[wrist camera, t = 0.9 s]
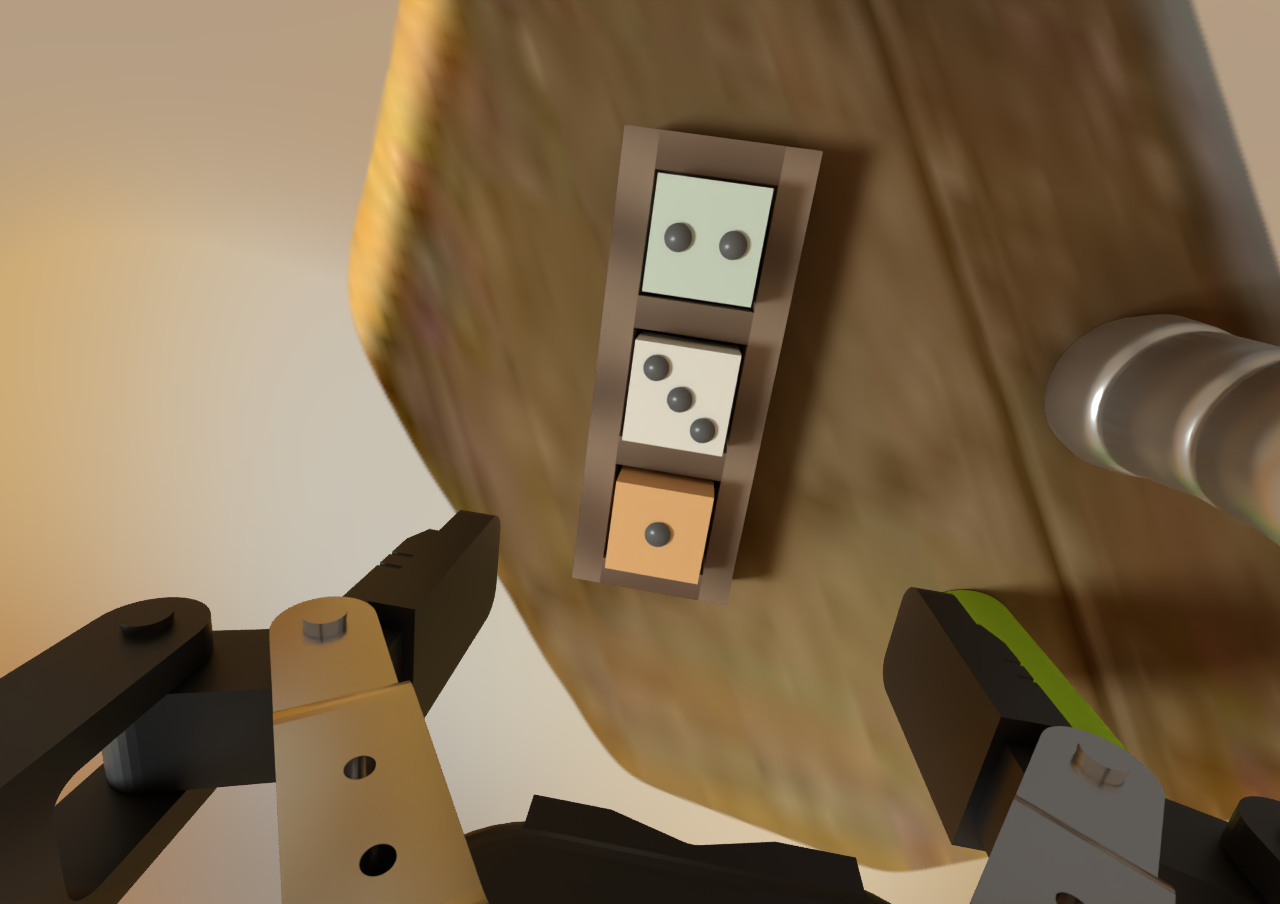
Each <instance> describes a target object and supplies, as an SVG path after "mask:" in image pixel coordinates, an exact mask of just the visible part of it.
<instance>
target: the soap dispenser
mask: <svg viewBox="0 0 1280 904" xmlns="http://www.w3.org/2000/svg"><path fill="white" fill-rule="evenodd" d="M944 593H949V594H953V595H954V596H955V597H956V598H957V599H958V600H959V602H960V603H961V604H962V606H963V607H964V608H965V609H966V611H967V612H968V613H969V615H970V616H971V617H972V619H973V620H974V621H975V623H976V624H979V625H982V626H983V627H984V628H986V629H987V630H988V631H990V632H991V633H992V634H994V635H995V636H996V637H998V638H999V639H1000V640H1002V641H1003V642H1004V643H1005V644H1006V645H1007V646H1008V647H1009V649H1010V650H1011V651H1012V652H1013V654H1014V655H1015V656H1016V657H1017V659H1018V660H1019V661H1020V662H1021V663H1020V665H1021V666H1024V667H1025V669H1026V670H1027V671H1028V672H1029V674H1030V675H1031V676H1032V677H1033V678H1034V679H1033V682H1035V683H1038V685H1039V686H1040V687H1041V688H1042V690H1043V691H1044V692H1045V693H1046V695H1047V696H1048V697H1049V698H1050V700H1051V701H1052V702H1053V703H1054V705H1055V706H1056V707H1057V708H1058V710H1059V711H1060V712H1061V713H1062V715H1063V716H1064V717H1065V718H1066V720H1067V721H1068V722H1069V723H1070V725H1071V726H1072V727H1073V728H1076V729H1080V730H1083V731H1087V732H1089V733H1092V734H1094V735H1097V736H1099V737H1101V738H1103V739H1106V740H1108V741H1109V742H1111V743H1113V744H1115V745H1117V746H1118V747H1120V748H1122V749H1123V750H1125V751H1127V749H1126V748H1125V747H1124V746H1123V745H1122V744H1121V742H1120V741H1119V740H1118V739H1117V738H1116V736H1115V735H1114V734H1113V733H1112V732H1111V731H1110V729H1109V728H1108V727H1107V726H1106V725H1105V724H1104V722H1103V721H1102V720H1101V719H1100V718H1099V716H1098V715H1097V714H1096V713H1095V712H1094V711H1093V709H1092V708H1091V707H1090V706H1089V705H1088V703H1087V702H1086V701H1085V700H1084V699H1083V698H1082V696H1081V695H1080V694H1079V693H1078V692H1077V691H1076V689H1075V688H1074V687H1073V686H1072V685H1071V683H1070V682H1069V681H1068V680H1067V679H1066V678H1065V676H1064V675H1063V674H1062V673H1061V672H1060V671H1059V669H1058V668H1057V667H1056V666H1055V665H1054V663H1053V662H1052V661H1051V660H1050V659H1049V658H1048V656H1047V655H1046V654H1045V653H1044V652H1043V650H1042V649H1041V648H1040V647H1039V646H1038V645H1037V643H1036V642H1035V641H1034V640H1033V639H1032V638H1031V636H1030V635H1029V634H1028V633H1027V632H1026V630H1025V629H1024V628H1023V627H1022V626H1021V625H1020V623H1019V622H1018V621H1017V620H1016V619H1015V617H1014V616H1013V615H1012V614H1011V613H1010V612H1009V610H1008V609H1007V608H1006V607H1005V606H1004V605H1003V604H1002V603H1001V602H999V601H998V600H996V599H995V598H993V597H991V596H989V595H987V594H984V593H981V592H977V591H971V590H954V591H948V592H944ZM1127 752H1128V751H1127ZM1128 753H1129V752H1128ZM1129 754H1130V753H1129ZM1165 798H1166V799H1168V798H1167V797H1166V795H1165Z"/></svg>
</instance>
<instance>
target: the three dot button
mask: <svg viewBox="0 0 1280 904" xmlns="http://www.w3.org/2000/svg"><path fill="white" fill-rule="evenodd" d="M740 361H741V353H740V350H739V347H738V346H735V345H728V344H722V343H716V342H709V341H703V340H696V339H690V338H683V337H677V336H670V335H664V334H657V333H651V332H644V331H643V332H642V333H641V334H640V335H639V336H638V337H637V338H636V340H635V347H634V354H633V362H632V369H631V377H630V384H629V392H628V399H627V406H626V414H625V421H624V429H623V436H622V440H624V441H630V442H637V443H643V444H649V445H655V446H661V447H667V448H673V449H679V450H685V451H691V452H697V453H703V454H709V455H715V456H721V457H722V454H723V449H724V444H725V439H726V434H727V428H728V423H729V418H730V413H731V408H732V402H733V397H734V392H735V387H736V382H737V376H738V371H739V366H740Z"/></svg>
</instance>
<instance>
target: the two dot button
mask: <svg viewBox="0 0 1280 904" xmlns="http://www.w3.org/2000/svg"><path fill="white" fill-rule="evenodd" d="M772 195H773V188H766V187H759V186H751V185H744V184H737V183H730V182H723V181H715V180H708V179H701V178H694V177H686V176H679V175H672V174H665V173H658V177H657V184H656V191H655V199H654V206H653V214H652V221H651V228H650V236H649V243H648V251H647V258H646V266H645V273H644V280H643V288H642V291H645V292H651V293H658V294H665V295H671V296H678V297H685V298H691V299H698V300H705V301H711V302H718V303H725V304H731V305H738V306H745V307H751V304H752V298H753V293H754V288H755V283H756V278H757V272H758V267H759V262H760V257H761V252H762V247H763V241H764V236H765V231H766V226H767V221H768V215H769V210H770V205H771V200H772Z"/></svg>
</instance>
